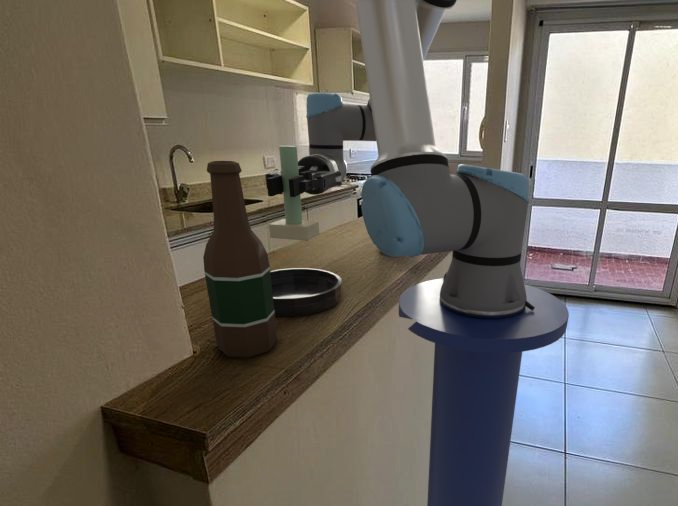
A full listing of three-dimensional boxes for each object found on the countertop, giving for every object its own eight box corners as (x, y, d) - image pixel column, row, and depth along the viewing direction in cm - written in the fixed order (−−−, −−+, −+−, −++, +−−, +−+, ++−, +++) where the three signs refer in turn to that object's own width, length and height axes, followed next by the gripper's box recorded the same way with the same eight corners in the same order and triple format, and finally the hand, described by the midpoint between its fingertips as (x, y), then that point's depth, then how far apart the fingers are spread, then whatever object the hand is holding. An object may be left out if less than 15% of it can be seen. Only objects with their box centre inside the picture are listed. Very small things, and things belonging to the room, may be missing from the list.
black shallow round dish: (354, 288, 84) (354, 272, 82) (319, 322, 69) (318, 303, 68) (275, 280, 87) (273, 264, 85) (225, 311, 72) (222, 292, 71)
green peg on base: (319, 234, 81) (314, 146, 75) (307, 240, 76) (300, 147, 71) (283, 232, 82) (275, 145, 76) (270, 237, 78) (260, 145, 72)
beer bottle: (289, 340, 63) (272, 161, 54) (249, 364, 57) (221, 165, 47) (247, 329, 66) (224, 158, 57) (204, 351, 59) (170, 161, 50)
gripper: (355, 193, 94) (331, 213, 72) (280, 191, 94) (234, 210, 72) (354, 155, 91) (329, 164, 69) (276, 153, 91) (227, 161, 69)
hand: (280, 187), depth 71 cm, fingers closed on green peg on base, 3 cm apart
